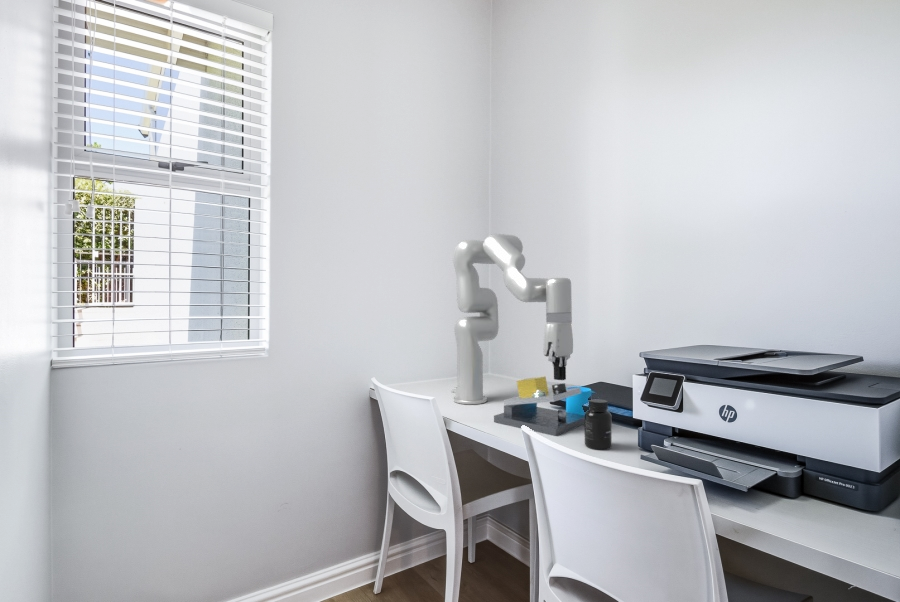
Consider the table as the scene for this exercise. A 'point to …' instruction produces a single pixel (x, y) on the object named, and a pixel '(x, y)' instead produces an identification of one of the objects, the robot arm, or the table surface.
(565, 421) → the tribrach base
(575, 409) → the mug
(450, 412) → the table surface
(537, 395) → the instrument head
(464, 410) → the table surface
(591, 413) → the supplement bottle
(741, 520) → the table surface
